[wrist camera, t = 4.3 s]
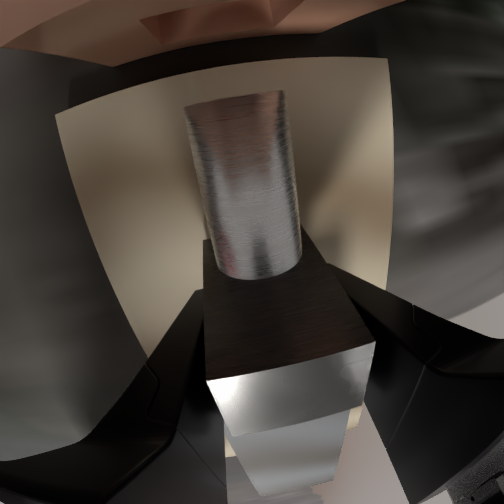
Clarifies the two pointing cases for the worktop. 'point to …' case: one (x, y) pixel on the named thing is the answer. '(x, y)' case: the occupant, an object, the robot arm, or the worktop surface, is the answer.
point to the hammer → (268, 277)
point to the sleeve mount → (194, 219)
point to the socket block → (161, 24)
